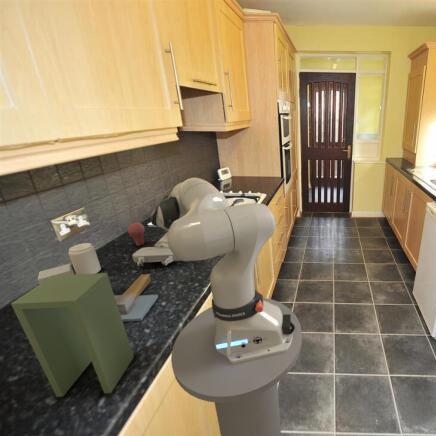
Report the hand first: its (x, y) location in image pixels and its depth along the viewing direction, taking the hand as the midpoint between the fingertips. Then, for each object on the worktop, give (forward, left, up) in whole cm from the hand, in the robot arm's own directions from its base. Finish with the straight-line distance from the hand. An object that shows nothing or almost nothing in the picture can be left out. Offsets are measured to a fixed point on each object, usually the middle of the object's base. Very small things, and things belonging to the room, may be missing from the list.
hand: (151, 264), depth 107 cm
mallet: (0, +15, -4) cm, 16 cm away
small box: (+22, +16, -5) cm, 28 cm away
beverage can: (+28, -4, -5) cm, 29 cm away
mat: (0, +21, -5) cm, 22 cm away
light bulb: (+20, -29, -5) cm, 35 cm away
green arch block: (-7, +46, -5) cm, 47 cm away
